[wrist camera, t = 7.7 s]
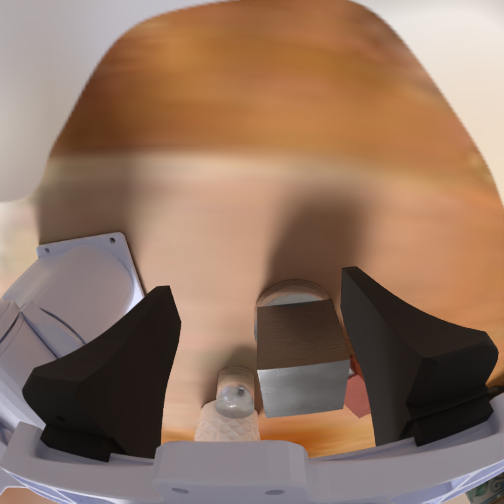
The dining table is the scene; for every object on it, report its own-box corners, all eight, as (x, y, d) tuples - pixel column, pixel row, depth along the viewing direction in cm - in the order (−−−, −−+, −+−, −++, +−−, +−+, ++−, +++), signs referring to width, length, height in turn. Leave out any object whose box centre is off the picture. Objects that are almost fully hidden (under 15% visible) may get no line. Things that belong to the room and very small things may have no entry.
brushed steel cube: (264, 357, 25) (265, 417, 19) (256, 306, 22) (257, 370, 17) (329, 350, 24) (342, 408, 19) (331, 298, 22) (350, 359, 17)
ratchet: (238, 306, 25) (235, 354, 20) (305, 265, 23) (317, 310, 19) (343, 406, 32) (351, 445, 28) (391, 383, 31) (404, 420, 26)
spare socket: (222, 388, 31) (219, 419, 27) (215, 366, 29) (211, 399, 25) (256, 386, 30) (256, 417, 27) (252, 364, 29) (251, 397, 25)
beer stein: (415, 435, 38) (449, 562, 16) (510, 359, 31) (576, 487, 9) (450, 444, 43) (480, 542, 21) (526, 383, 35) (574, 481, 13)
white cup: (270, 400, 32) (273, 480, 23) (254, 432, 35) (253, 500, 26) (199, 390, 31) (187, 471, 22) (193, 423, 34) (183, 492, 26)
